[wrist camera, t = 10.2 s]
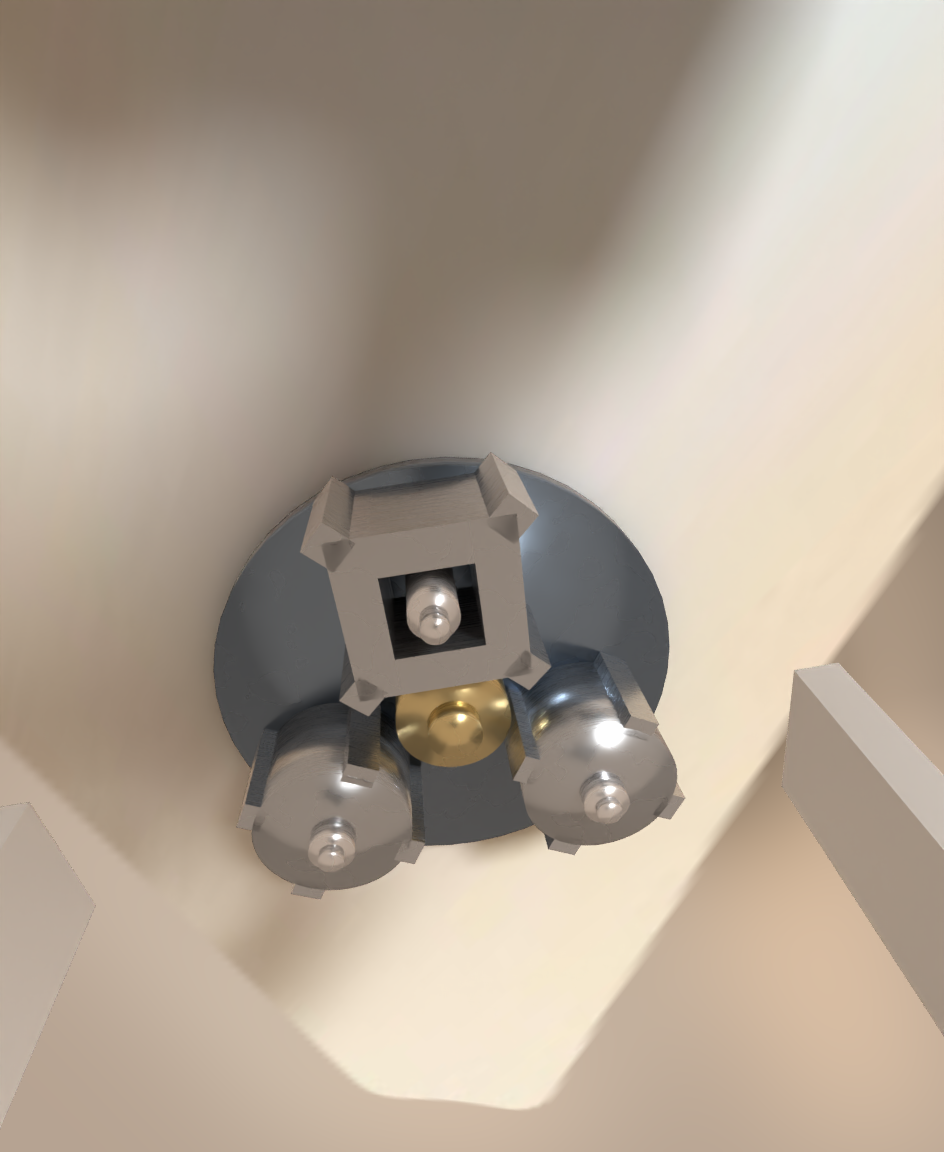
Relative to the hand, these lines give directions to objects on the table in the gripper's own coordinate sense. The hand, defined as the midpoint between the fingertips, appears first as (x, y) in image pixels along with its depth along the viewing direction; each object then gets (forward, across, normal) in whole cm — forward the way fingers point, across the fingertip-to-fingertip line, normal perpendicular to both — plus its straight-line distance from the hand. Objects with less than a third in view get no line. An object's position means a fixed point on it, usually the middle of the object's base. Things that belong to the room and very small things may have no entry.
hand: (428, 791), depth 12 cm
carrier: (+19, 0, -12) cm, 23 cm away
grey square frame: (+18, 0, -5) cm, 19 cm away
